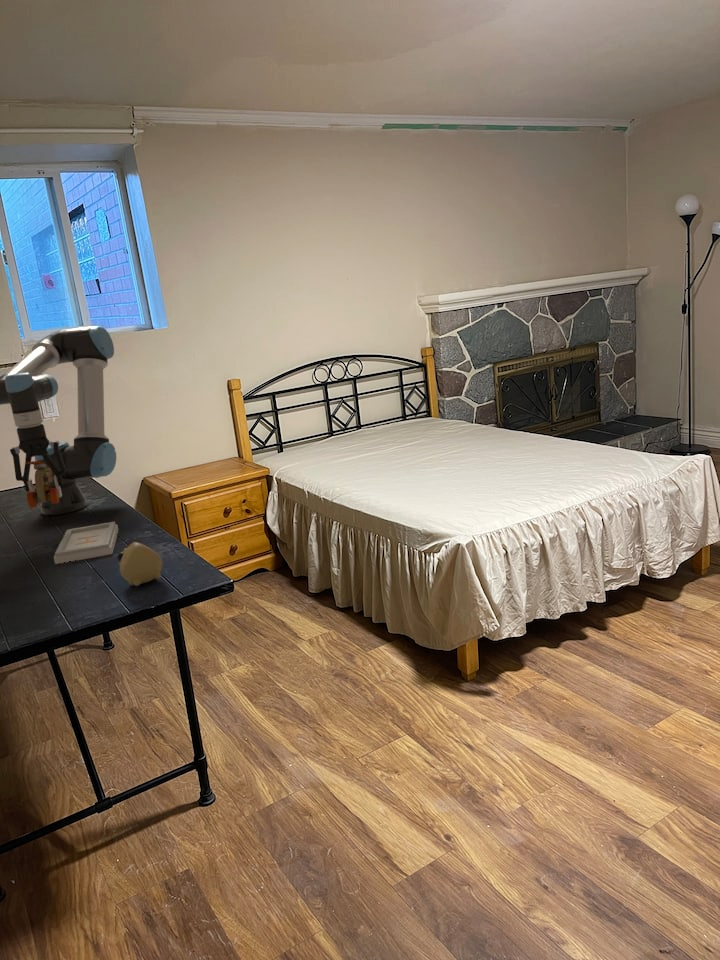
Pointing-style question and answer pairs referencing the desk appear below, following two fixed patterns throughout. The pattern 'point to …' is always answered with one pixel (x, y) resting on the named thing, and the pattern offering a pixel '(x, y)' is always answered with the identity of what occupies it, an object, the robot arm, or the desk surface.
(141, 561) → the toy pig
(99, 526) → the plate
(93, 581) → the desk surface
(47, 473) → the toy helicopter
